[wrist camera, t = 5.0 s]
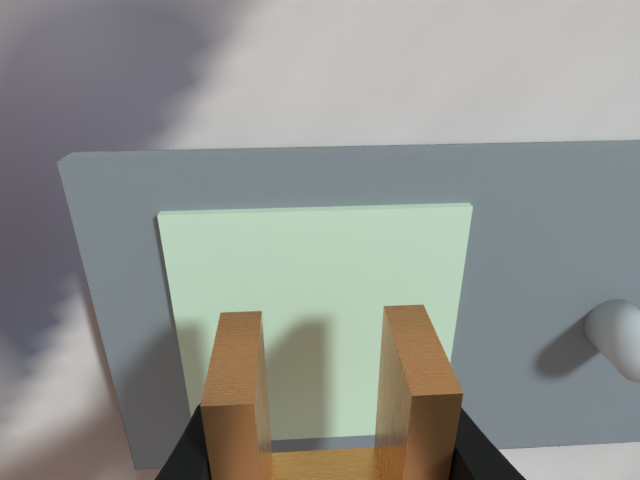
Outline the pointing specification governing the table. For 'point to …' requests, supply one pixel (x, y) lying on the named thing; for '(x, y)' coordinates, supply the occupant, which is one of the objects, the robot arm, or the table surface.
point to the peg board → (369, 281)
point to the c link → (338, 464)
